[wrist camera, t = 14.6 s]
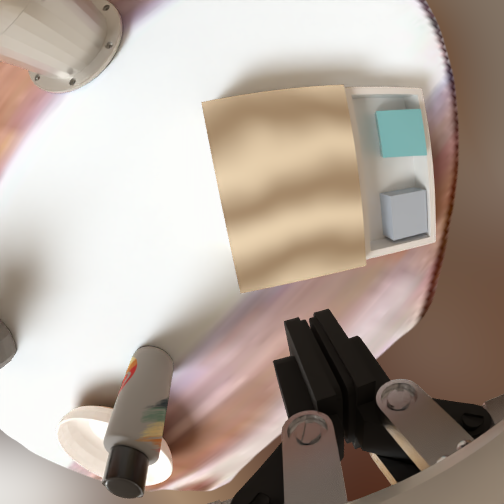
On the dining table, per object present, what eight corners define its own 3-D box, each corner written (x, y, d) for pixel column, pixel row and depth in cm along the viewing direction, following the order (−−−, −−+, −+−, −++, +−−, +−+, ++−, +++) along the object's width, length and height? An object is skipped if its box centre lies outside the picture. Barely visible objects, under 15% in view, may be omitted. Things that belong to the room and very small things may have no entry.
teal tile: (420, 108, 25) (416, 110, 28) (376, 111, 27) (374, 112, 29) (427, 155, 27) (422, 153, 29) (383, 157, 29) (380, 156, 31)
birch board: (204, 110, 28) (201, 102, 24) (326, 93, 29) (343, 84, 24) (238, 274, 34) (240, 293, 29) (348, 250, 35) (366, 265, 30)
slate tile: (425, 189, 30) (413, 187, 32) (390, 196, 30) (379, 193, 32) (427, 231, 31) (416, 226, 34) (393, 240, 31) (383, 234, 34)
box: (330, 93, 29) (342, 87, 26) (405, 92, 29) (421, 88, 26) (351, 249, 35) (364, 259, 31) (419, 234, 35) (435, 242, 32)
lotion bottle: (127, 366, 37) (86, 488, 18) (141, 337, 36) (97, 469, 17) (164, 383, 38) (143, 509, 19) (181, 357, 37) (163, 493, 18)
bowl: (164, 395, 39) (159, 426, 33) (183, 464, 45) (181, 490, 39) (51, 382, 37) (37, 407, 31) (88, 452, 43) (80, 475, 37)
